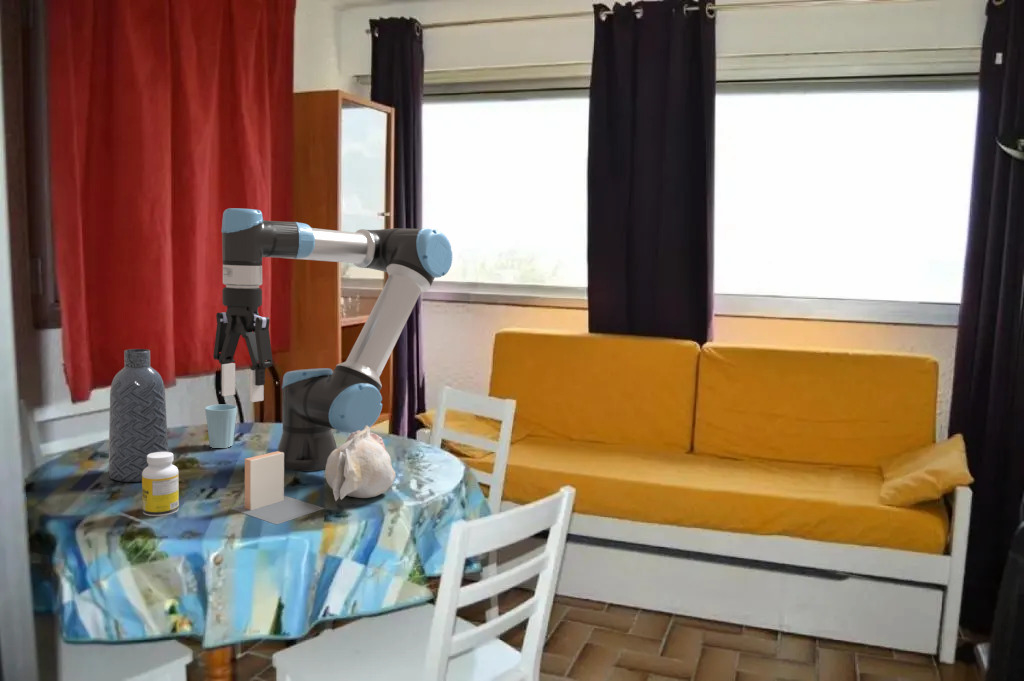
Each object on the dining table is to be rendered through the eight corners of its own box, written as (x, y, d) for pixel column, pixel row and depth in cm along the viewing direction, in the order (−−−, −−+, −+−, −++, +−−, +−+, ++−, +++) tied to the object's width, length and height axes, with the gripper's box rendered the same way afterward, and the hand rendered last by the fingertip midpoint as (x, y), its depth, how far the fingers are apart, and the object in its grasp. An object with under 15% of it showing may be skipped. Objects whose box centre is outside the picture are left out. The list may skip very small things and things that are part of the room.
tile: (244, 508, 154) (244, 458, 153) (277, 498, 160) (277, 451, 159) (251, 510, 153) (251, 460, 151) (283, 500, 159) (284, 452, 158)
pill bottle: (149, 507, 154) (149, 450, 152) (183, 507, 154) (183, 450, 153) (137, 518, 147) (136, 458, 146) (172, 518, 148) (171, 459, 146)
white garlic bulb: (412, 495, 167) (413, 427, 166) (340, 515, 153) (341, 441, 151) (364, 479, 178) (365, 414, 176) (292, 497, 163) (293, 427, 161)
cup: (240, 448, 200) (240, 408, 199) (209, 451, 196) (209, 411, 194) (232, 441, 206) (232, 403, 205) (202, 445, 202) (201, 405, 201)
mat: (229, 510, 153) (229, 508, 153) (278, 496, 163) (278, 494, 163) (276, 527, 146) (276, 524, 145) (325, 510, 155) (325, 508, 155)
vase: (100, 474, 174) (97, 349, 171) (155, 464, 183) (153, 345, 179) (121, 486, 166) (119, 355, 162) (178, 476, 174) (176, 351, 171)
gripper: (193, 283, 158) (194, 393, 161) (261, 290, 146) (261, 408, 149) (225, 283, 164) (225, 389, 167) (292, 289, 153) (292, 402, 155)
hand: (242, 397), depth 158 cm, fingers open, 8 cm apart
